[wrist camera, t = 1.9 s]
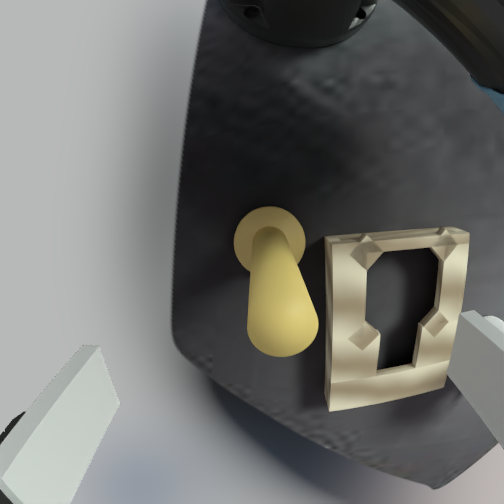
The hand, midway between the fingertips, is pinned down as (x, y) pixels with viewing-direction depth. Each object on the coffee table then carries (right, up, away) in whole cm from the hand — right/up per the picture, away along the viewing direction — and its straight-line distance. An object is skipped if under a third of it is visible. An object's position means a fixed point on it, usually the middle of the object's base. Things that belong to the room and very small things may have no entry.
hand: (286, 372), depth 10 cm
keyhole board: (+13, -3, +20) cm, 24 cm away
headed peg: (0, +5, +19) cm, 19 cm away
